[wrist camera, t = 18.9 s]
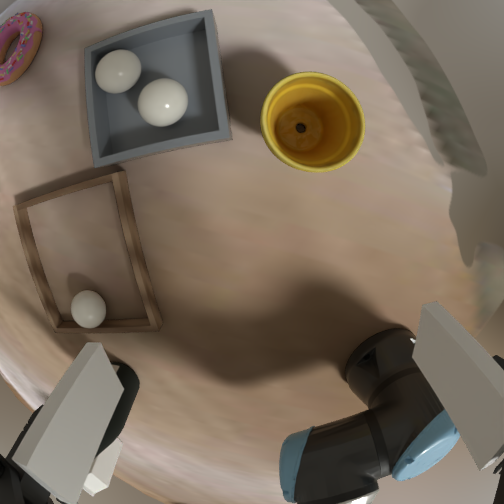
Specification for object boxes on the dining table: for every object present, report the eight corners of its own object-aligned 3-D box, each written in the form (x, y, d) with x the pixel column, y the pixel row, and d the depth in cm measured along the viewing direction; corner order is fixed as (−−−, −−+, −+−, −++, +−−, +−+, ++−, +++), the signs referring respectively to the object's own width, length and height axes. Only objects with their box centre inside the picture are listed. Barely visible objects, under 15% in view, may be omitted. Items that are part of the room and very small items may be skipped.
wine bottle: (97, 370, 47) (35, 490, 19) (114, 352, 46) (44, 487, 17) (129, 394, 49) (82, 517, 21) (148, 379, 48) (100, 518, 19)
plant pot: (313, 78, 32) (334, 56, 22) (350, 147, 35) (382, 147, 25) (243, 112, 33) (240, 98, 24) (282, 181, 36) (294, 192, 27)
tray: (162, 322, 43) (158, 331, 41) (61, 325, 44) (54, 332, 42) (125, 170, 35) (117, 172, 33) (21, 203, 36) (12, 206, 34)
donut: (-8, 96, 29) (-26, 95, 25) (3, 33, 25) (-12, 28, 20) (40, 73, 29) (22, 68, 25) (54, 5, 25) (39, -3, 20)
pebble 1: (116, 315, 43) (102, 335, 37) (88, 316, 43) (73, 335, 37) (105, 282, 41) (87, 300, 35) (77, 285, 41) (58, 302, 36)
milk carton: (109, 427, 54) (86, 486, 36) (123, 443, 57) (104, 499, 39) (89, 425, 55) (64, 479, 37) (103, 441, 57) (82, 493, 39)
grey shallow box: (232, 139, 34) (229, 137, 30) (111, 165, 35) (94, 168, 30) (216, 25, 29) (211, 9, 24) (101, 57, 30) (84, 48, 25)
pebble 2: (115, 104, 27) (79, 78, 24) (124, 100, 32) (93, 77, 29) (148, 64, 26) (112, 38, 22) (153, 66, 30) (121, 43, 27)
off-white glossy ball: (186, 128, 33) (197, 113, 28) (139, 136, 31) (141, 122, 26) (179, 87, 32) (189, 67, 27) (134, 93, 30) (136, 73, 25)
